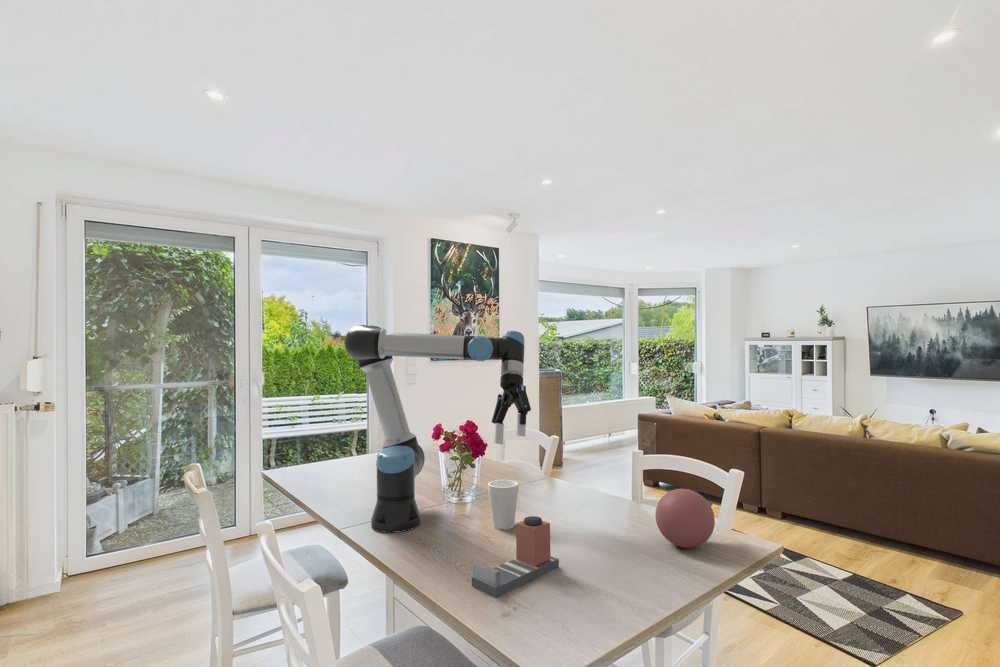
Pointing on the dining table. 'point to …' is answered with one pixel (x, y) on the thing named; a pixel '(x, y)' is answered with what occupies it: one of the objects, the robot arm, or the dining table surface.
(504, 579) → the track
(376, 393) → the robot arm
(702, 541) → the balloon
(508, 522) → the foam cup
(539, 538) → the plug
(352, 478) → the dining table surface
